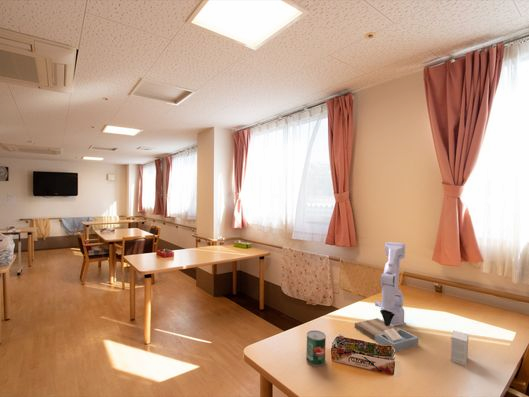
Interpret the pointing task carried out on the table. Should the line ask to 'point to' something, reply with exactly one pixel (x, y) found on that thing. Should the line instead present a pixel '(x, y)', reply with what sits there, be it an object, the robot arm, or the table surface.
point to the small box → (459, 347)
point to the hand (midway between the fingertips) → (387, 325)
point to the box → (406, 342)
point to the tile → (392, 335)
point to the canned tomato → (316, 348)
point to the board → (372, 327)
